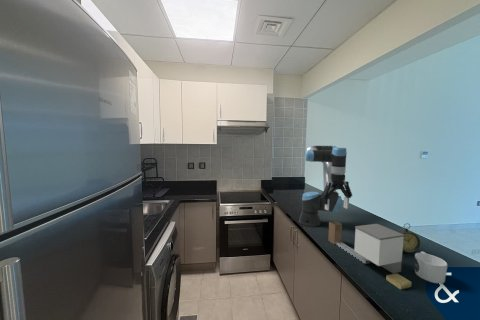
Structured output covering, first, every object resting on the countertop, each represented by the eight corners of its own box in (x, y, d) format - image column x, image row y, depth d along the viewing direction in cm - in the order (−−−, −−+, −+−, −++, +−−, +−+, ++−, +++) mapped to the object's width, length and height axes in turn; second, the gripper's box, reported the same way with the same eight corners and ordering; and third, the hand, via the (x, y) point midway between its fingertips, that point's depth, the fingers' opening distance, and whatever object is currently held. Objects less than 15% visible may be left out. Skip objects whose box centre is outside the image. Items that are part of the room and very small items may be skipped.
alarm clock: (397, 253, 108) (399, 224, 107) (391, 248, 113) (393, 221, 112) (419, 255, 107) (422, 226, 105) (412, 250, 112) (414, 222, 111)
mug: (451, 287, 82) (453, 268, 82) (419, 280, 86) (421, 262, 86) (434, 268, 95) (435, 252, 94) (407, 263, 99) (408, 248, 98)
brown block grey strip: (328, 240, 122) (329, 221, 121) (334, 239, 123) (335, 221, 122) (363, 264, 98) (365, 240, 97) (371, 262, 99) (373, 239, 98)
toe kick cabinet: (353, 260, 101) (355, 226, 100) (375, 256, 105) (377, 223, 104) (377, 277, 88) (380, 238, 87) (401, 271, 92) (404, 234, 91)
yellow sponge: (386, 280, 86) (386, 275, 86) (396, 278, 88) (396, 273, 88) (400, 290, 81) (400, 284, 81) (411, 287, 82) (411, 282, 82)
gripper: (324, 175, 110) (322, 212, 111) (360, 174, 117) (358, 209, 118) (315, 173, 117) (314, 208, 119) (350, 172, 124) (348, 205, 125)
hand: (336, 208), depth 118 cm, fingers open, 13 cm apart
